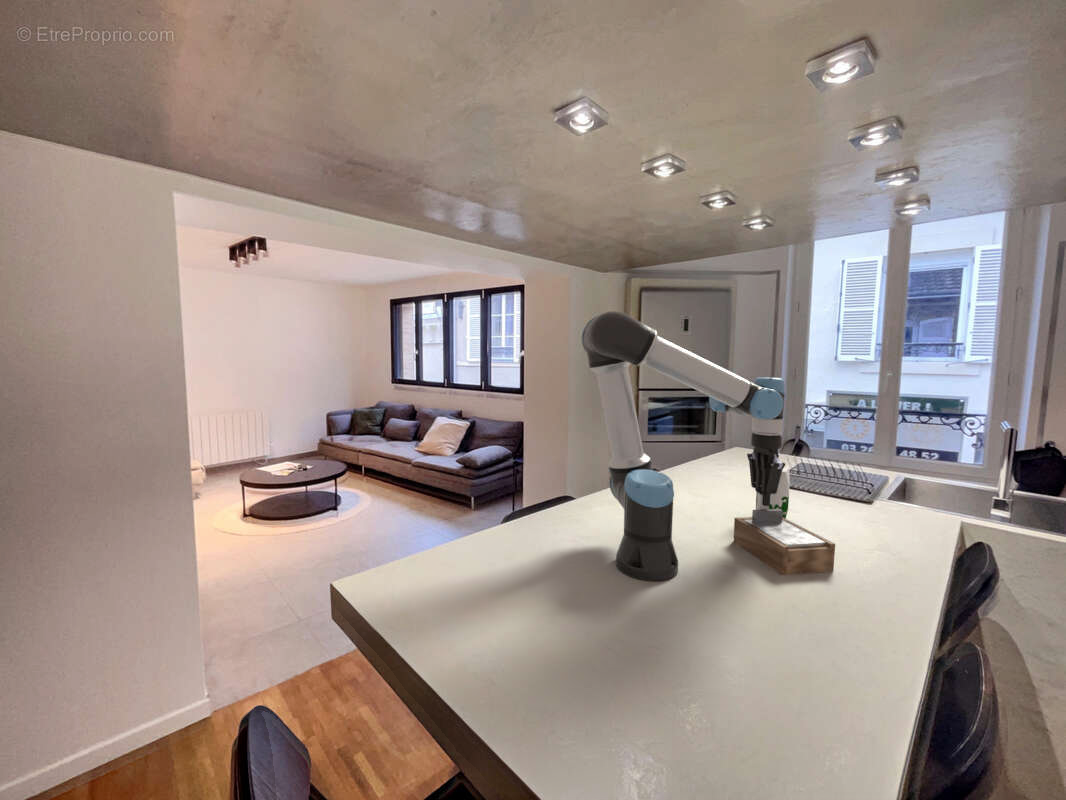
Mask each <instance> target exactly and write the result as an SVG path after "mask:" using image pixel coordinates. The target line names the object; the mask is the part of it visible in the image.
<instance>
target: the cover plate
mask: <svg viewBox="0 0 1066 800" xmlns="http://www.w3.org/2000/svg"><path fill="white" fill-rule="evenodd" d="M751 513H752V514H751V515H752V516H751V517H752V519H749V520H744V521H745V522H747V523H749V524H750V525H752V526H754V527H755V528H757V529H759V530H760V531H762V532H764V533H766V534H767V535H769V536H771V537H772V538H774V539H776V540H777V541H779V542H781V543H783V544H784V545H786V546H788V548H803V547H819V546H825V544H826V542H824V541H822V540H820V539H818V538H816V537H814V536H812V535H811V534H809V533H807V532H805V531H803V530H801V529H799V528H797V527H795V526H793V525H791V524H789V523H787V522H785V521H783V520H782V514H783V510H781V509H760V510H756V509H752V512H751Z"/></svg>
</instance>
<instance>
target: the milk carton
mask: <svg viewBox="0 0 1066 800" xmlns="http://www.w3.org/2000/svg"><path fill="white" fill-rule="evenodd" d="M790 477H791V476H790V466H785V467H784V468H783V470H782V473H781V477H780V481H779V485H778V489H777V493H776V494H771V495H770V505H769V509H781V510H783V514H782V517H783V518H785V519H787V516H788V511H789V502H790V501H789V500H790V483H791V478H790ZM755 493H756V496H757V492H756V491H755ZM756 496H755V497H756ZM756 508H757V501H756V500H755V509H756Z"/></svg>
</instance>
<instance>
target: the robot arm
mask: <svg viewBox="0 0 1066 800" xmlns="http://www.w3.org/2000/svg"><path fill="white" fill-rule="evenodd" d="M581 343H582V347H583V349H584V351H585V352H586V355H587V360H588V365H589V366H588V367H589V369H590V370H591V371H592V372H594V373H595V374H596V377H597V383H598V388H599V394H600V398H601V399H600V400H601V405H602V410H603V415H604V420H605V425H606V430H607V436H608V441H609V442H608V443H609V446H610V447H609V448H610V451H611V456H612V458H611V459H610V460H609V462H608V464H607V465H608V466H607V467H608V470H609V474H610V475H609V489H610V491H611V494H612V496H613V497H614V498H615V499H616V500H617V502H618V503H619V505H620V506H621V508H623V512H624V513H623V515H624V516H623V535H622V538H621V540H620V544H619V546H618V549H617V552H616V554H615V565H616V567H617V569H618V570H619V571H620V572H622V573H623V574H624V575H626V576H629V577H631V578H634V579H638V580H643V581H651V582H654V581H655V582H659V581H660V582H661V581H667V580H670V579H672V578H674V577H675V576H677V575H678V573H679V559H678V556H677V553H676V549H675V547H674V546H675V545H674V543H673V536H672V535H673V513H674V498H675V490H674V483H673V480H672V479H671V478H670V476H668V475H667V474H665V473H663V472H659V471H657V470H653V465H652V461H651V457H650V456H649V455H648V454H647V453H645V452H644V448H643V442H642V437H641V432H640V431H641V430H640V426H639V421H638V415H637V411H636V410H637V409H636V404H635V400H634V399H635V397H634V394H633V387H632V383H631V382H632V381H631V377H630V372H629V367H630V365H631V364H632V365H634V366H636V367H639V366H642V365H644V366H645V367H648V368H649V369H652V370H654V371H656V372H658V373H660V374H662V375H664V376H666V377H668V378H671V379H672V380H675V381H677V382H679V383H681V384H683V385H685V386H687V387H690V388H691V389H694V390H696V391H698V392H700V393H702V394H703V395H706V396H709V398H708V401H709V406H710V409H712V411H714V412H715V413H716V412H721V413H733V414H734V413H735V414H737V415H738V414H739V415H743V416H748V417H751V431H753V432H752V433H751V435H750V436H751V438H750V439H751V440H750V441H751V442H750V445H751V446H752V447H754V448H753V451H752V452H751V453H747V454H746V455H747V460H748V462H749V463H748V465H749V475H750V484H751V485H750V486H751V488H752V489H754V490H755V493H756V492H757V496H755V497H756V498H755V502H756V501H757V508H756V507H755V510H760V509H769V505H770V495H771V494H776V493H777V489H778V485H779V481H780V477H781V473H782V470H783V468H784V467H786V463H785V461H781V460H780V459H779V457H780V456H779V451H778V450H780V449H782V446H783V445H782V443H783V436H782V433H783V423H784V422H783V419H784V406H785V396H786V386H785V384H786V383H785V380H784V379H783V378H781V377H764V376H763V377H756V378H754V381H753V382H752V381H750V380H747V379H746V378H744V377H741V376H739V375H737V374H736V373H734V372H732V371H730V370H727V369H726V368H724V367H722V366H719V365H718V364H715V363H714V362H711V361H710V360H708V359H705V358H703V357H701V356H699V355H697V354H696V353H693V352H691V351H689V350H687V349H684V348H683V347H681V346H678V345H676V344H675V343H673V342H671V341H669V340H667V339H665V338H662V337H660V336H658V333H657V330H656V329H654V328H653V327H650V326H648V325H646V324H644V322H643V323H642V322H641V321H639V320H637V319H635V318H634V317H631V316H630V315H628V314H626V313H624V312H620V311H614V310H613V311H612V310H611V311H607V312H603V313H601V314H600V315H597V316H594V317H593V318H591V319H590V320H589V321H588V322H587V323H586V325H585V326H584V328H583V331H582V335H581Z"/></svg>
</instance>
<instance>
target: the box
mask: <svg viewBox="0 0 1066 800" xmlns="http://www.w3.org/2000/svg"><path fill="white" fill-rule="evenodd" d="M749 519H752V516H745V517H744V516H743V517H734V520H733V521H734V522H733V523H734V525H733V543H735V544H736V545H738V546H739V547H740V548H743V549H744V550H745V551H747V552H749V553H750V554H751V555H753V556H754V557H755V558H757V559H758V560H760V561H761V562H763V564H766V565H767V566H768V567H769V568H771V569H772V570H774V571H775V572H777V573H779V574H780V575H781V576H785V575H798V574H799V575H800V574H812V573H813V574H814V573H826V572H828V573H829V572H834V567H835V554H836V553H835V552H836V551H835V550H836V543H834V542H832V541H830V540H828V539H827V538H824V537H823V536H820V535H819V534H816V533H815V532H813V531H810V530H809V529H807V528H804V527H803V526H800V525H798V524H797V523H795V522H793V521H790V520H789V519H787V518H786V519H785V518H783V517H782V520H783V521H785V522H787V523H789V524H791V525H793V526H795V527H797V528H799V529H801V530H803V531H805V532H807V533H809V534H811V535H812V536H814V537H816V538H818V539H820V540H822V541H824V542H826V544H825V546H819V547H803V548H788V546H786V545H784V544H783V543H781V542H779V541H777V540H776V539H774V538H772V537H771V536H769V535H767V534H766V533H764V532H762V531H760V530H759V529H757V528H755V527H754V526H752V525H750V524H749V523H747V522H745V521H744V520H749Z"/></svg>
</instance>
